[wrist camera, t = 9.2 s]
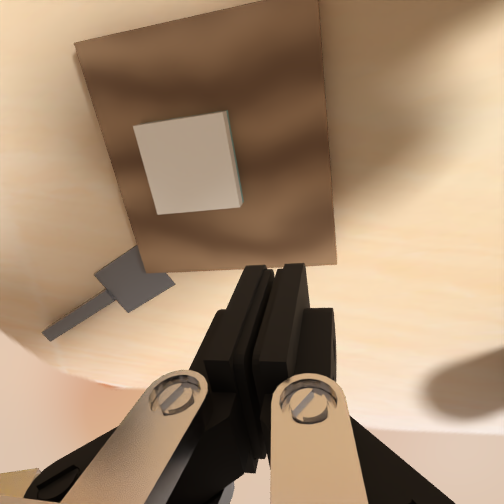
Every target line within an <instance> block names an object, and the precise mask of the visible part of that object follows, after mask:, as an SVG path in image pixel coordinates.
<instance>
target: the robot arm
mask: <svg viewBox="0 0 504 504" xmlns="http://www.w3.org/2000/svg"><path fill="white" fill-rule="evenodd" d="M266 454H267V455H268V460H269V465H270V470H271V484H270V485H271V487H270V491H271V492H270V504H455V503H454V502H453V501H452V500H451V499H449V498H448V497H447V496H446V495H445V494H443V493H442V492H441V491H440V490H439V489H437V488H436V487H435V486H434V485H433V484H431V483H430V482H429V481H428V480H427V479H425V478H424V477H423V476H422V475H421V474H419V473H418V472H417V471H416V470H415V469H413V468H412V467H411V466H410V465H408V464H407V463H406V462H405V461H404V460H402V459H401V458H400V457H399V456H398V455H397V454H395V453H394V452H393V451H392V450H391V449H389V448H388V447H387V446H386V445H385V444H383V443H382V442H381V441H380V440H379V439H377V438H376V437H375V436H374V435H372V434H371V433H370V432H369V431H368V430H367V429H365V428H364V427H363V426H362V425H361V424H359V423H358V422H357V421H356V420H355V419H353V418H352V417H351V416H350V415H349V411H348V407H347V402H346V397H345V395H344V393H343V390H342V388H341V387H340V386H339V385H338V384H337V383H336V336H335V323H334V312H333V308H310V303H309V294H308V285H307V276H306V268H305V263H289V264H284V268H283V269H277V272H276V276H275V277H274V272H273V269H267V267H266V265H246V266H245V268H244V271H243V273H242V275H241V277H240V279H239V282H238V284H237V286H236V288H235V291H234V293H233V295H232V297H231V299H230V302H229V304H228V306H227V308H226V309H221V310H218V311H217V313H216V314H215V316H214V319H213V321H212V323H211V325H210V327H209V329H208V331H207V333H206V335H205V337H204V339H203V341H202V343H201V346H200V348H199V350H198V352H197V354H196V356H195V358H194V360H193V362H192V364H191V366H190V368H189V370H179V371H174V372H171V373H168V374H166V375H163V376H162V377H160V378H159V379H157V380H156V381H154V382H153V383H152V384H151V385H150V386H149V387H148V388H147V389H146V391H145V392H144V394H143V395H142V396H141V397H140V399H139V400H138V402H137V403H136V404H135V405H134V406H133V408H132V409H131V410H130V412H129V413H128V414H127V416H126V417H125V418H124V420H123V421H122V422H121V423H120V425H119V426H118V427H116V428H114V429H112V430H111V431H109V432H107V433H105V434H104V435H102V436H100V437H98V438H96V439H95V440H93V441H91V442H89V443H88V444H86V445H84V446H82V447H81V448H79V449H77V450H75V451H73V452H72V453H70V454H68V455H66V456H64V457H63V458H61V459H59V460H57V461H56V462H54V463H53V464H51V465H50V466H48V467H47V468H46V469H44V470H43V471H42V472H41V471H40V470H39V468H35V469H29V470H22V471H15V472H8V473H1V474H0V504H230V501H231V499H232V496H233V491H234V481H235V480H236V479H238V478H239V477H240V476H242V475H243V474H244V472H245V473H256V468H257V463H258V459H265V457H266Z"/></svg>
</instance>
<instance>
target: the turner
mask: <svg viewBox="0 0 504 504" xmlns="http://www.w3.org/2000/svg"><path fill="white" fill-rule="evenodd" d="M94 276H95V277H96V278H97V279H98V280H99V281H100V282H101V283H102V284H103V286H104V287H105V288H106V289H105V290H103V291H102V292H100V293H99V294H97V295H96V296H94V297H93V298H91V299H90V300H88V301H87V302H85V303H84V304H82V305H80V306H79V307H77V308H76V309H74V310H73V311H71V312H70V313H68V314H67V315H65V316H64V317H62V318H61V319H59V320H58V321H56V322H55V323H53V324H52V325H50V326H49V327H47V328H46V329H45V330H44V331H43V332H42V334H43V335H44V336H45V337H46V338H47V339H48V340H49V341H50V342H51V341H52V340H54V339H55V338H57V337H59V336H60V335H62V334H63V333H65V332H66V331H68V330H70V329H71V328H73V327H74V326H76V325H77V324H79V323H81V322H82V321H84V320H85V319H87V318H88V317H90V316H92V315H93V314H95V313H96V312H98V311H99V310H101V309H103V308H104V307H106V306H107V305H109V304H110V303H112V302H114V301H115V300H117V301H118V302H119V303H120V304H121V306H122V307H123V308H124V309H125V310H126V311H127V312H128V313H129V312H131V311H132V310H134V309H136V308H137V307H139V306H141V305H142V304H144V303H146V302H147V301H149V300H150V299H152V298H154V297H155V296H157V295H159V294H160V293H162V292H164V291H165V290H167V289H169V288H170V287H172V286H173V285H175V283H174V282H173V281H172V280H171V278H170V277H169V276H168V275H167V274H166V273H147V274H146V271H145V268H144V264H143V261H142V258H141V255H140V252H139V248H138V245H136V246H135V247H133V248H132V249H130V250H129V251H127V252H126V253H124V254H123V255H121V256H120V257H119V258H117V259H116V260H114V261H113V262H111V263H110V264H108V265H107V266H105V267H104V268H102V269H101V270H99V271H98V272H96V273H95V274H94Z"/></svg>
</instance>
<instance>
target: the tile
mask: <svg viewBox="0 0 504 504" xmlns="http://www.w3.org/2000/svg"><path fill="white" fill-rule="evenodd" d="M133 129H134V132H135V136H136V139H137V143H138V146H139V150H140V154H141V157H142V161H143V164H144V168H145V171H146V175H147V179H148V182H149V186H150V189H151V193H152V196H153V200H154V204H155V207H156V211H157V214H158V215H161V214H172V213H183V212H194V211H206V210H217V209H228V208H239V207H241V205H242V204H243V202H244V200H243V194H242V188H241V183H240V177H239V171H238V166H237V160H236V154H235V149H234V143H233V137H232V131H231V126H230V120H229V114H228V110H224V111H218V112H212V113H205V114H199V115H192V116H186V117H179V118H173V119H167V120H160V121H154V122H147V123H141V124H138V125H135V126H133Z"/></svg>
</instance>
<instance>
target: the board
mask: <svg viewBox="0 0 504 504" xmlns="http://www.w3.org/2000/svg"><path fill="white" fill-rule="evenodd" d="M74 45H75V48H76V51H77V55H78V58H79V61H80V64H81V67H82V71H83V74H84V77H85V80H86V83H87V86H88V90H89V93H90V96H91V99H92V102H93V105H94V109H95V112H96V115H97V118H98V121H99V125H100V128H101V131H102V134H103V137H104V140H105V144H106V147H107V150H108V153H109V156H110V159H111V163H112V166H113V169H114V172H115V175H116V179H117V182H118V185H119V188H120V191H121V194H122V198H123V201H124V204H125V207H126V210H127V214H128V217H129V220H130V223H131V226H132V229H133V233H134V236H135V239H136V242H137V245H138V248H139V252H140V255H141V258H142V261H143V264H144V268H145V271H146V274H147V273H168V272H189V271H210V270H231V269H244V268H245V266H246V265H266V267H267V268H273V267H284V264H289V263H305V266H316V265H337V252H336V238H335V224H334V210H333V197H332V183H331V169H330V155H329V141H328V128H327V114H326V100H325V86H324V72H323V58H322V45H321V31H320V17H319V3H318V0H263V1H259V2H254V3H250V4H245V5H241V6H237V7H232V8H228V9H223V10H219V11H214V12H210V13H205V14H201V15H196V16H192V17H188V18H183V19H179V20H174V21H170V22H165V23H161V24H156V25H152V26H147V27H143V28H138V29H134V30H130V31H125V32H121V33H116V34H112V35H107V36H103V37H98V38H94V39H89V40H85V41H81V42H76V43H74ZM224 110H228V114H229V120H230V126H231V131H232V137H233V143H234V149H235V154H236V160H237V166H238V171H239V177H240V183H241V188H242V194H243V200H244V202H243V204H242V205H241V207H239V208H228V209H217V210H206V211H194V212H183V213H172V214H161V215H158V214H157V211H156V207H155V204H154V200H153V196H152V193H151V189H150V186H149V182H148V179H147V175H146V171H145V168H144V164H143V161H142V157H141V154H140V150H139V146H138V143H137V139H136V136H135V132H134V129H133V126H135V125H138V124H141V123H147V122H154V121H160V120H167V119H173V118H179V117H186V116H192V115H199V114H205V113H212V112H218V111H224Z"/></svg>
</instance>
